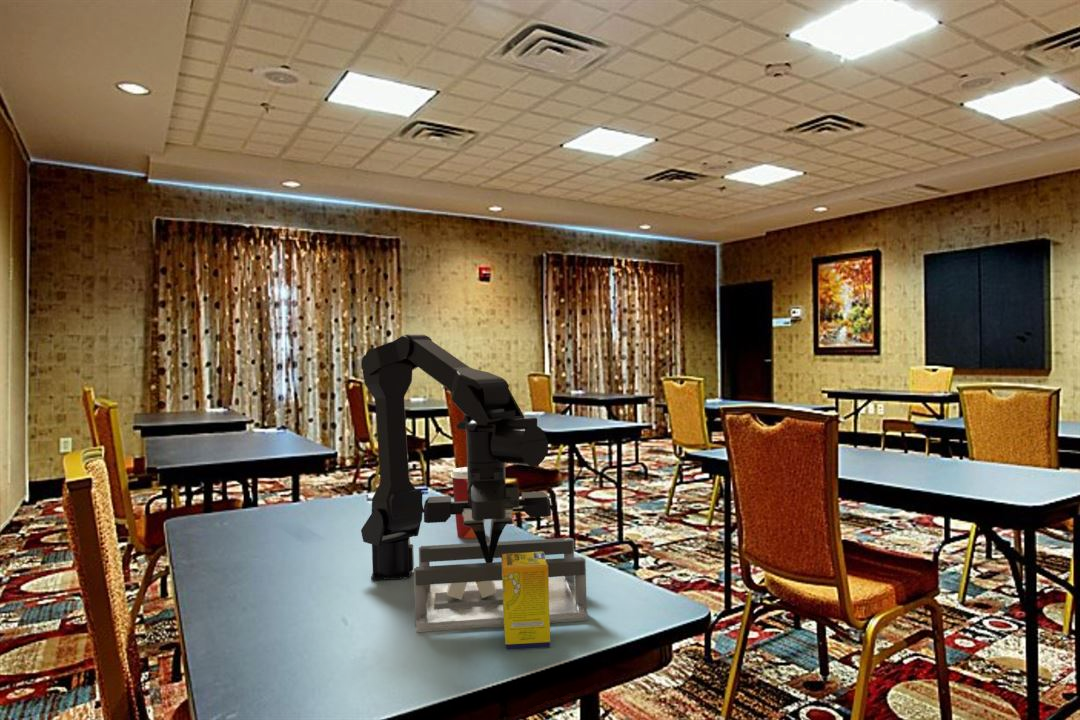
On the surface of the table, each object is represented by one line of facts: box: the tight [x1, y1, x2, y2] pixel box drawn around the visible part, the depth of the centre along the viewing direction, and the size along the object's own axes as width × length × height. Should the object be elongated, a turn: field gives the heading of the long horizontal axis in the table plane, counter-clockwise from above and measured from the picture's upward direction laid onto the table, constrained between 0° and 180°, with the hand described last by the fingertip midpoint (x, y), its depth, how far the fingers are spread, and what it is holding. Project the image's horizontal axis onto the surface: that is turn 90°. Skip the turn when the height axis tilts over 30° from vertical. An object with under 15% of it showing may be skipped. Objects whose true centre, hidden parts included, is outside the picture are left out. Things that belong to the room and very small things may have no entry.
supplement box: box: [501, 552, 551, 652], centre depth 93 cm, size 6×6×11 cm
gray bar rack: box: [413, 537, 588, 627], centre depth 106 cm, size 25×13×8 cm, turn 96°
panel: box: [415, 576, 589, 633], centre depth 106 cm, size 24×16×2 cm, turn 96°
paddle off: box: [476, 581, 496, 598], centre depth 106 cm, size 2×3×3 cm, turn 6°
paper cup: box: [450, 466, 485, 540], centre depth 148 cm, size 8×8×14 cm
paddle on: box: [447, 582, 468, 600], centre depth 105 cm, size 2×3×3 cm, turn 6°
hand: (488, 563), depth 106 cm, fingers closed
